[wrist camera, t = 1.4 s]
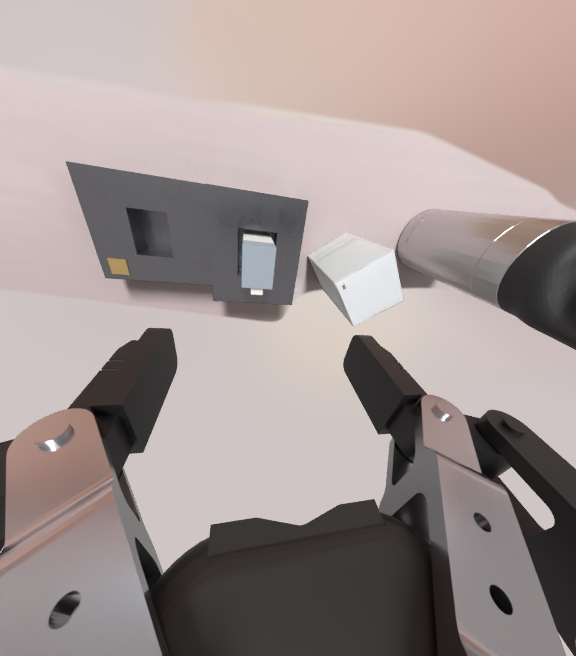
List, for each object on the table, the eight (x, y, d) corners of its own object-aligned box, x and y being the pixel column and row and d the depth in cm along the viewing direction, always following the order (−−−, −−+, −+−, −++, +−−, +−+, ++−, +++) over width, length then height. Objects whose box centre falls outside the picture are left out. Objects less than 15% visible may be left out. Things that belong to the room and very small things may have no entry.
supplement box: (322, 291, 37) (351, 329, 27) (306, 254, 33) (332, 282, 23) (360, 270, 36) (405, 301, 26) (347, 230, 32) (395, 248, 22)
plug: (269, 233, 25) (276, 247, 19) (265, 272, 28) (271, 296, 21) (244, 230, 25) (242, 244, 18) (243, 270, 27) (241, 295, 20)
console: (293, 198, 29) (308, 200, 21) (282, 281, 35) (291, 304, 28) (91, 165, 24) (19, 153, 16) (121, 268, 30) (79, 293, 23)
